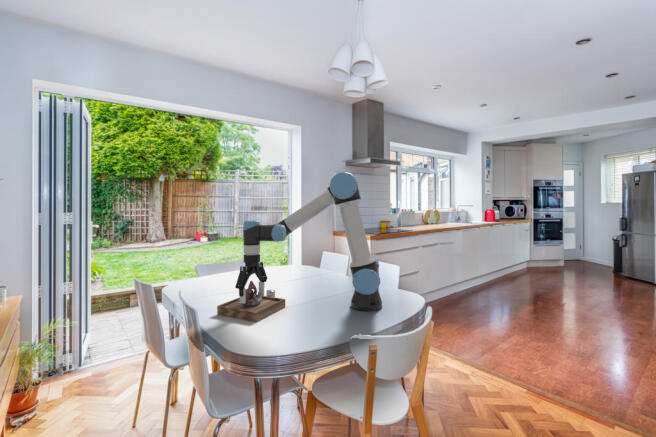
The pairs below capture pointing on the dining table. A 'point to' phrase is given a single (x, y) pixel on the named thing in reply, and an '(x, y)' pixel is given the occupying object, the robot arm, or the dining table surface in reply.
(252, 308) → the wooden tray
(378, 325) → the dining table surface
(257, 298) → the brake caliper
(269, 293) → the steel bushing
